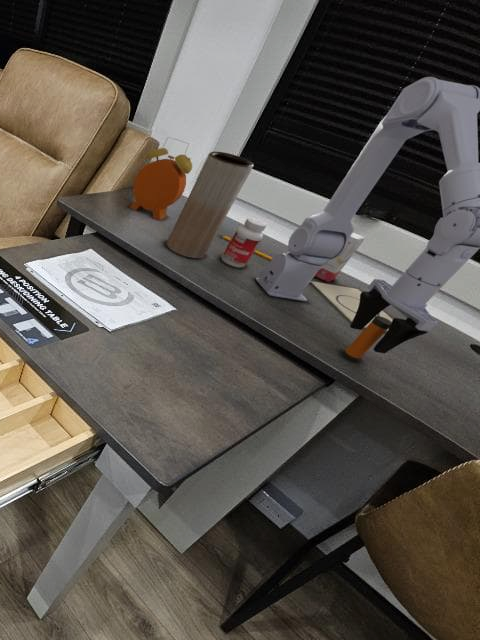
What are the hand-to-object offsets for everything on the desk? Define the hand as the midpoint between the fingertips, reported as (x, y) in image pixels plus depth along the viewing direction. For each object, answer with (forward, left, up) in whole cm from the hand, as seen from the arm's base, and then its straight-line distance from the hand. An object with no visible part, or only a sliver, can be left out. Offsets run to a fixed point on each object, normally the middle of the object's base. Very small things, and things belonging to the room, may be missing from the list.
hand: (366, 339), depth 88 cm
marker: (0, 0, -5) cm, 5 cm away
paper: (+16, +23, -5) cm, 28 cm away
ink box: (+14, +39, -5) cm, 42 cm away
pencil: (0, +47, -5) cm, 47 cm away
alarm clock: (-26, +64, -5) cm, 69 cm away
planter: (-22, +40, -5) cm, 46 cm away
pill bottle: (-10, +37, -5) cm, 39 cm away
